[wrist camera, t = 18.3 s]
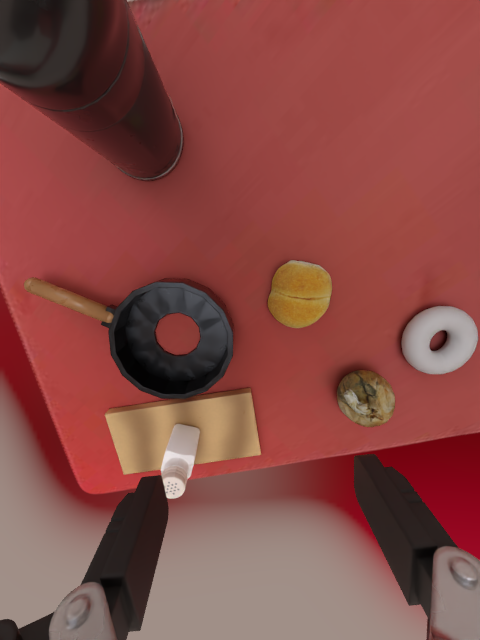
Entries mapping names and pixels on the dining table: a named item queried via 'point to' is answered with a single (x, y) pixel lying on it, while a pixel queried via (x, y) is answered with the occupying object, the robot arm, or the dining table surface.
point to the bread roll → (299, 293)
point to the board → (197, 411)
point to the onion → (366, 398)
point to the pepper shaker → (179, 459)
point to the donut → (454, 350)
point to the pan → (140, 339)
